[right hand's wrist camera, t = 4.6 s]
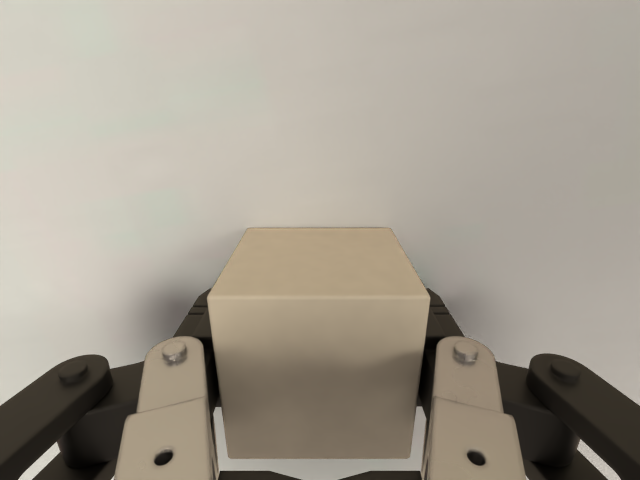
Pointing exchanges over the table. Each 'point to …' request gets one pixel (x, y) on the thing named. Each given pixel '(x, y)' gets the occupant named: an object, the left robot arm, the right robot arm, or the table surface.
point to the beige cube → (318, 344)
